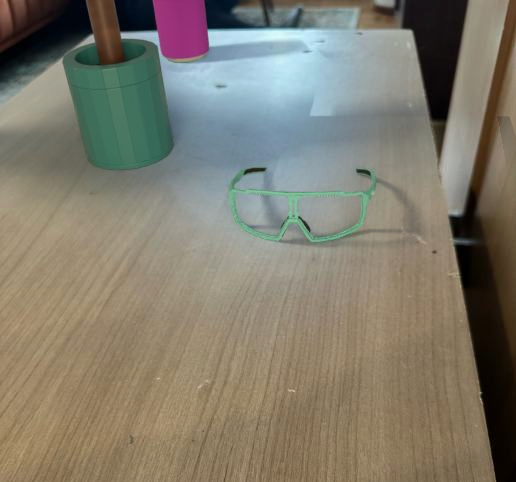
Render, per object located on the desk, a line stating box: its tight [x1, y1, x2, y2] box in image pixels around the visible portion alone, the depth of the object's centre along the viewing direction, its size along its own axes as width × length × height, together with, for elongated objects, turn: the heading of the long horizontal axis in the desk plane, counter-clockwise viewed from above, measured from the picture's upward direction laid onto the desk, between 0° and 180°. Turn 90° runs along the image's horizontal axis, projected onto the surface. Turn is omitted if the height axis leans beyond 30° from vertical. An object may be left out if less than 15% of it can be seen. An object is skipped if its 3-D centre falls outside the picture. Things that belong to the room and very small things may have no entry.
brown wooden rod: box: [85, 0, 126, 65], centre depth 69 cm, size 4×4×20 cm
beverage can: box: [152, 0, 210, 63], centre depth 98 cm, size 8×8×12 cm
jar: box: [61, 38, 174, 171], centre depth 73 cm, size 10×10×11 cm
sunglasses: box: [228, 166, 377, 243], centre depth 63 cm, size 14×15×5 cm
